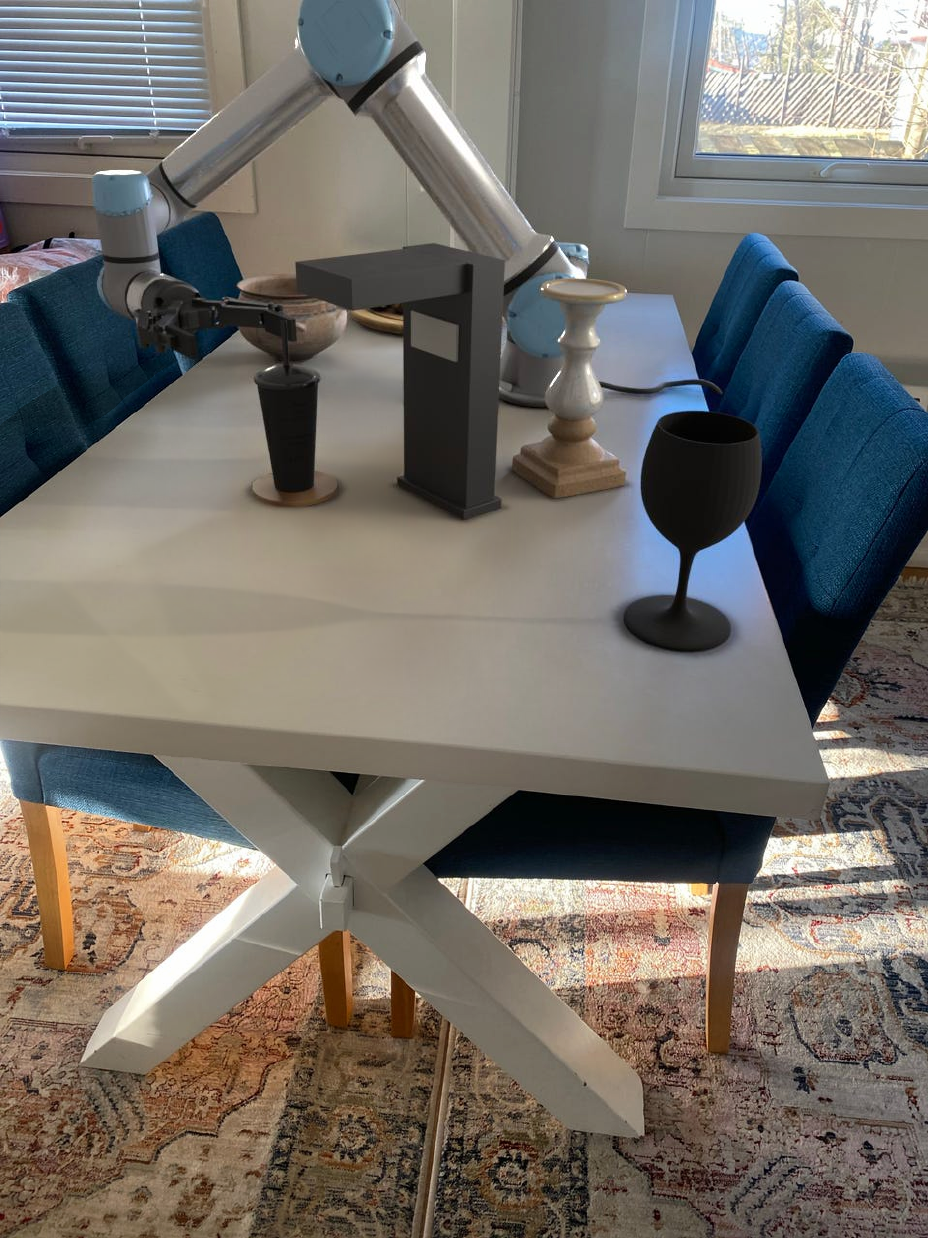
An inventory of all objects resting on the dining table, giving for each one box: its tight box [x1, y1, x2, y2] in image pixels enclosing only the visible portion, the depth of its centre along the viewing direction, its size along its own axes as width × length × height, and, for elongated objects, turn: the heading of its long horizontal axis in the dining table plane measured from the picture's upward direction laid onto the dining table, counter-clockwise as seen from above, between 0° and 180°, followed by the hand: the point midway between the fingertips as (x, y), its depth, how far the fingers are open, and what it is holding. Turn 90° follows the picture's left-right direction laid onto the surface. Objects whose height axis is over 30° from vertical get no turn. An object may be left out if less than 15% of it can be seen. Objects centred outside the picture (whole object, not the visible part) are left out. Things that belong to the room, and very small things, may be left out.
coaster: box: [251, 470, 339, 508], centre depth 120 cm, size 10×10×1 cm
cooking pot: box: [236, 273, 348, 362], centre depth 168 cm, size 25×19×12 cm
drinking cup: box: [253, 320, 322, 492], centre depth 115 cm, size 8×8×20 cm
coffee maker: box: [294, 242, 505, 521], centre depth 109 cm, size 20×13×28 cm, turn 130°
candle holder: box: [511, 278, 628, 499], centre depth 120 cm, size 11×11×24 cm
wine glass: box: [623, 410, 763, 653], centre depth 90 cm, size 10×10×20 cm
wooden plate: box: [349, 303, 506, 335], centre depth 195 cm, size 32×32×8 cm
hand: (245, 338), depth 118 cm, fingers open, 13 cm apart
